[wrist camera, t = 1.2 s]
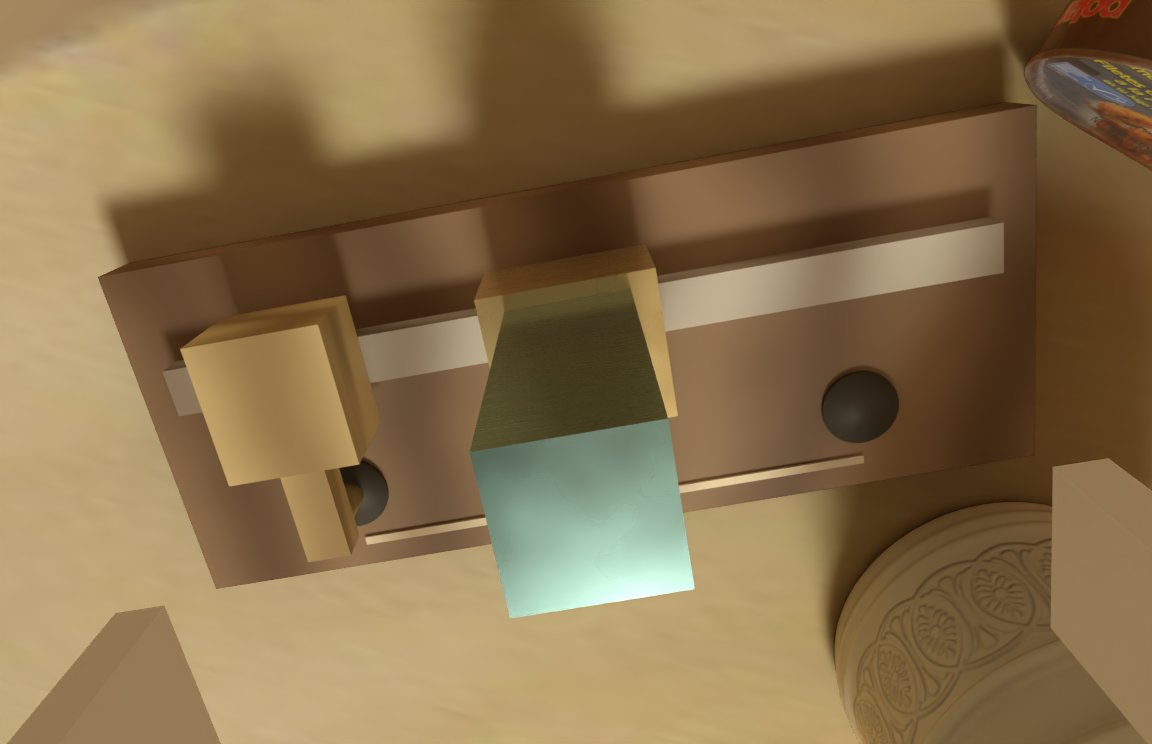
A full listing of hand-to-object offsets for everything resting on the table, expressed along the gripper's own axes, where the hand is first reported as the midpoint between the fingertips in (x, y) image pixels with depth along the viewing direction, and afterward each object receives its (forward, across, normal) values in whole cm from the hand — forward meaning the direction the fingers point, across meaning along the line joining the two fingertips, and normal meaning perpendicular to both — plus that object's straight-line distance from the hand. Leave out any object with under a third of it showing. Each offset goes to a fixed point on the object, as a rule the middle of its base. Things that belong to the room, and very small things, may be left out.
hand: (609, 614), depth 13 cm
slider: (+16, 0, -2) cm, 16 cm away
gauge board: (+18, 0, -2) cm, 19 cm away
